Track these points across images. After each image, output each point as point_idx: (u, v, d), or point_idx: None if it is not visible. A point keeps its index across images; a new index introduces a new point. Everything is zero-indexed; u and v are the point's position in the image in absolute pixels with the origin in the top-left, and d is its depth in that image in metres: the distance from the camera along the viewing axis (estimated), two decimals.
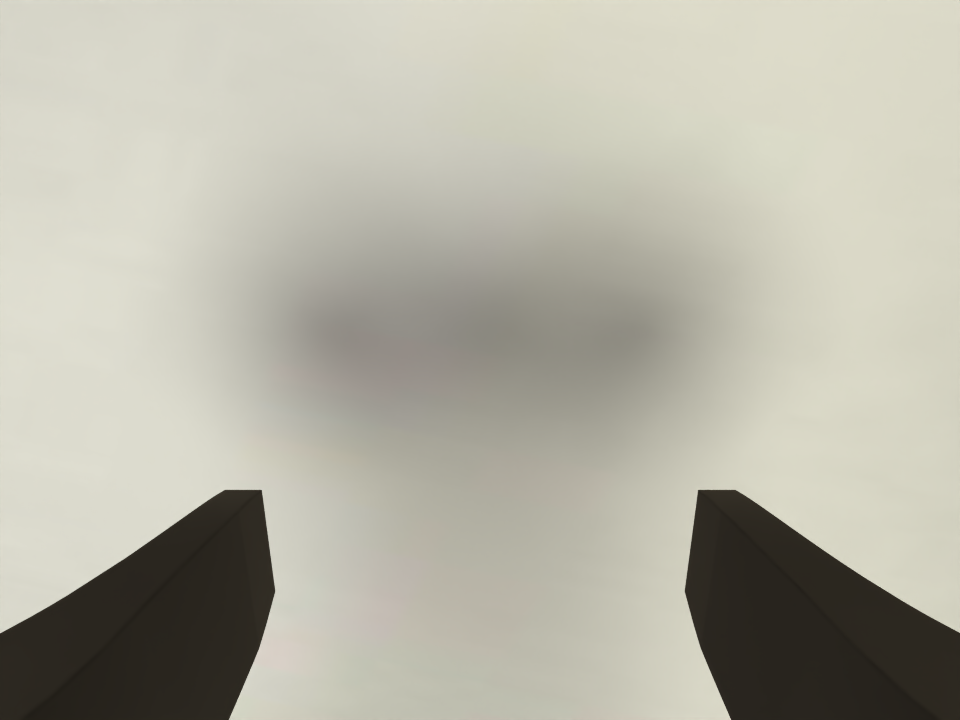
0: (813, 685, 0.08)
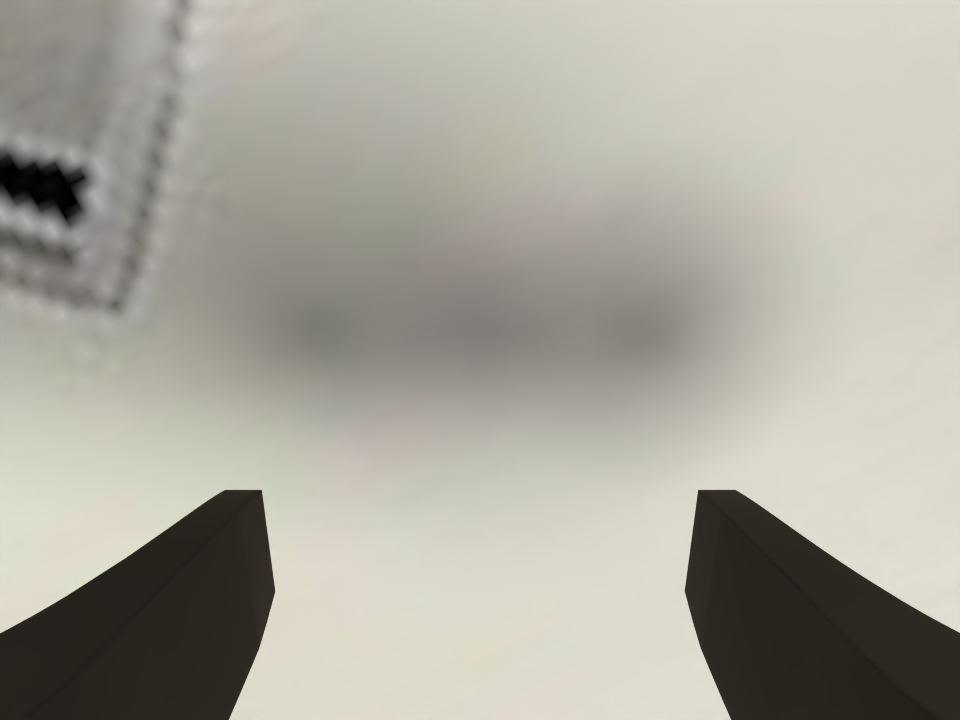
0: (813, 685, 0.08)
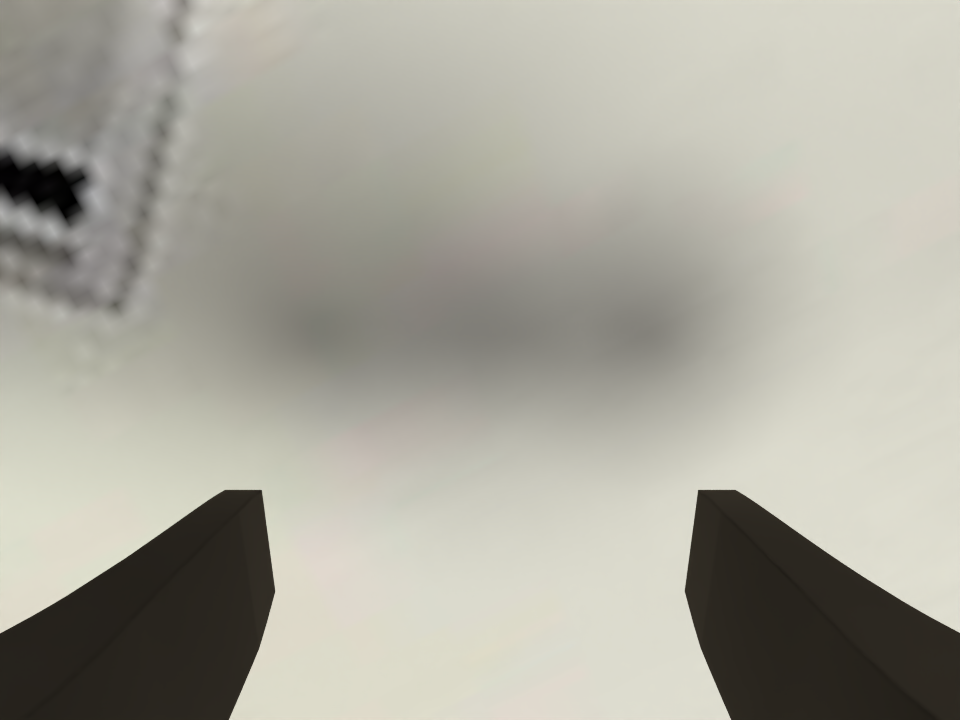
0: (813, 685, 0.08)
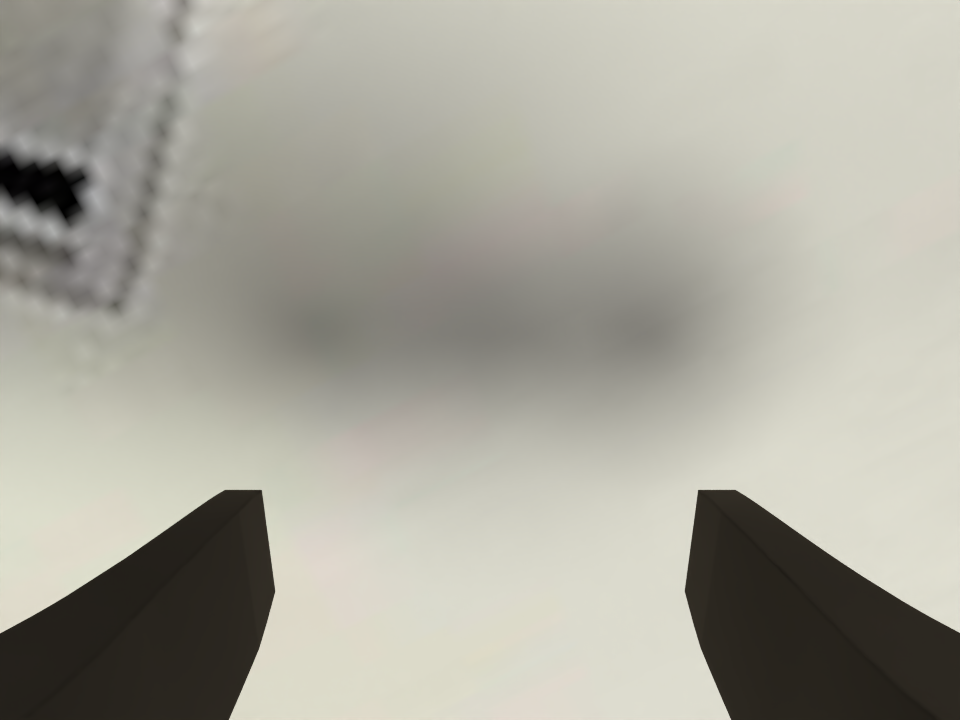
0: (813, 685, 0.08)
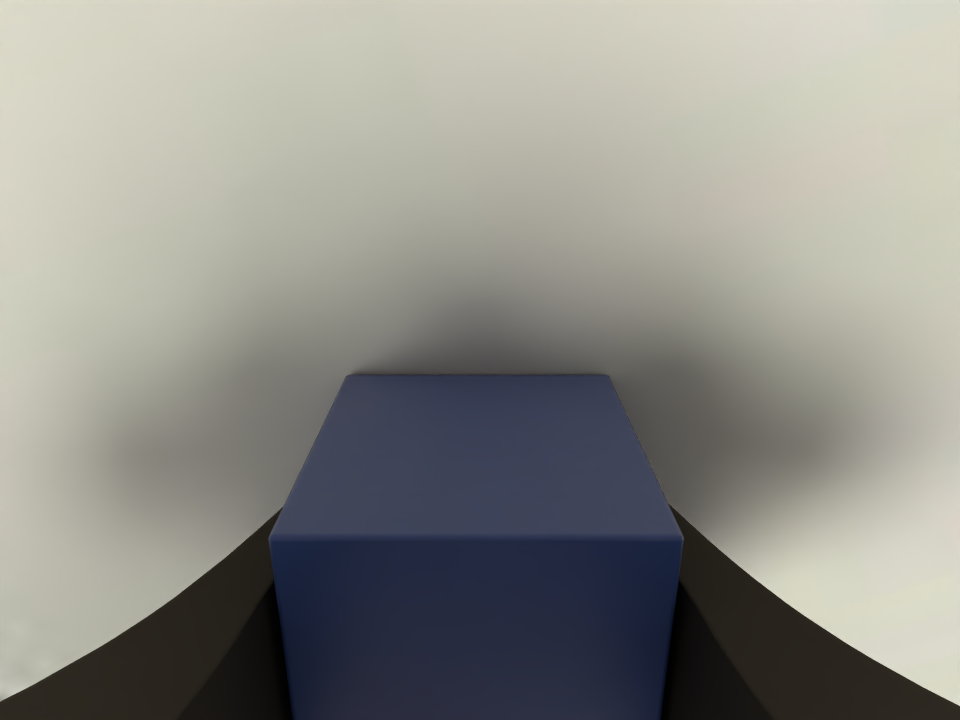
0: (694, 685, 0.08)
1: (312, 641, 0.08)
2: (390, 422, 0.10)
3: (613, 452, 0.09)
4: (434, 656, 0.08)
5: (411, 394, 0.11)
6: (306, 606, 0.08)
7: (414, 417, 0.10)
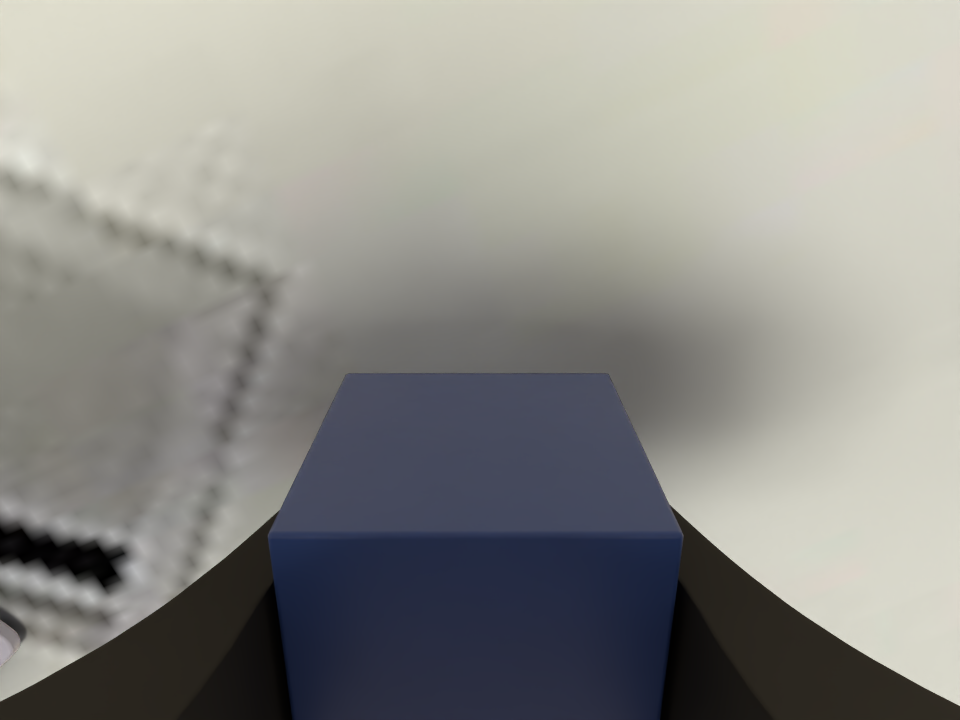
0: (694, 685, 0.08)
1: (311, 639, 0.08)
2: (389, 420, 0.10)
3: (614, 450, 0.09)
4: (434, 654, 0.08)
5: (411, 393, 0.11)
6: (305, 604, 0.08)
7: (414, 415, 0.10)
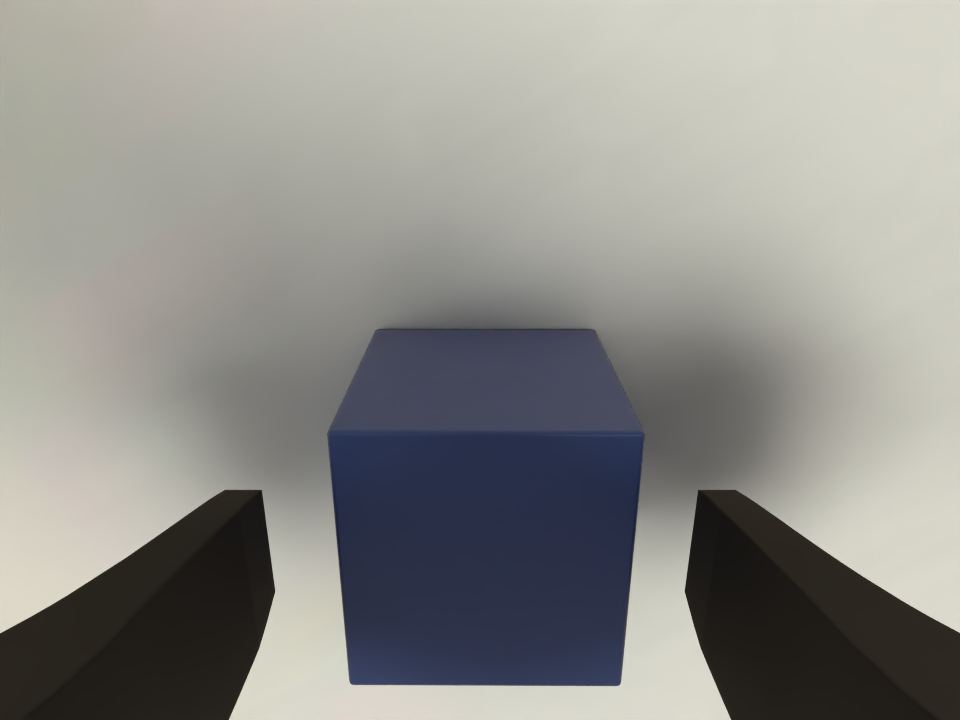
0: (813, 685, 0.08)
1: (358, 518, 0.10)
2: (414, 361, 0.12)
3: (595, 381, 0.11)
4: (453, 530, 0.10)
5: (431, 342, 0.13)
6: (355, 489, 0.10)
7: (434, 358, 0.12)
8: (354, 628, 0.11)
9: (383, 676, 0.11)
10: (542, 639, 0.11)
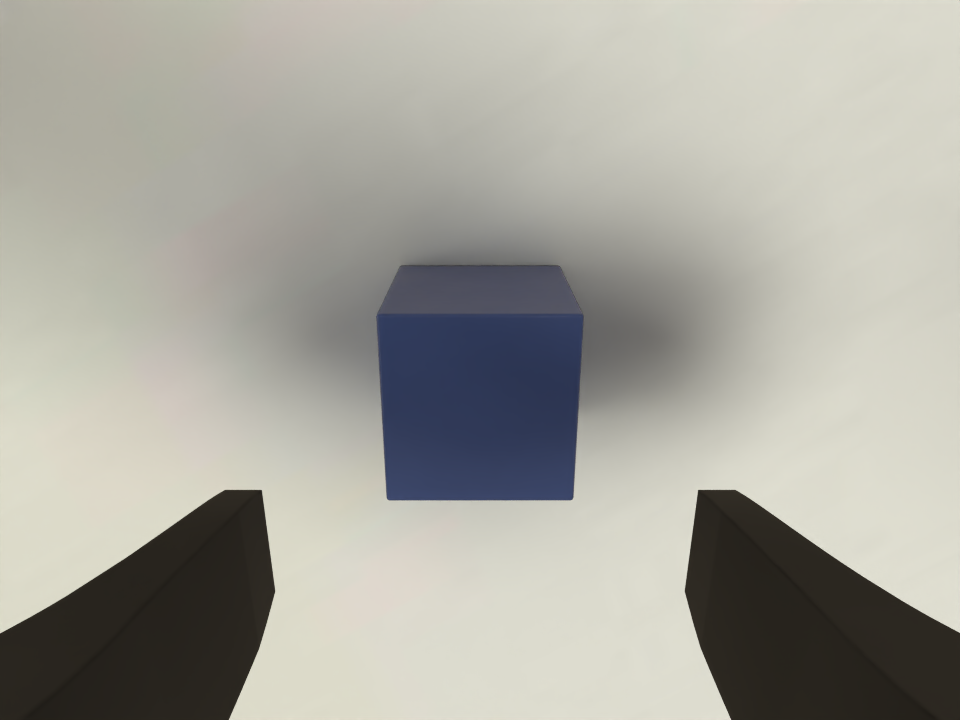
0: (813, 685, 0.08)
1: (395, 375, 0.15)
2: (429, 282, 0.17)
3: (555, 291, 0.17)
4: (458, 384, 0.15)
5: (441, 272, 0.18)
6: (393, 354, 0.15)
7: (443, 280, 0.18)
8: (391, 456, 0.16)
9: (409, 493, 0.16)
10: (518, 464, 0.16)
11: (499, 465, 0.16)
